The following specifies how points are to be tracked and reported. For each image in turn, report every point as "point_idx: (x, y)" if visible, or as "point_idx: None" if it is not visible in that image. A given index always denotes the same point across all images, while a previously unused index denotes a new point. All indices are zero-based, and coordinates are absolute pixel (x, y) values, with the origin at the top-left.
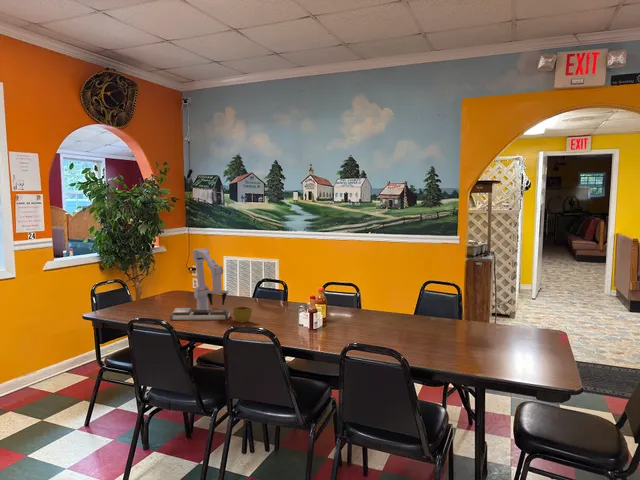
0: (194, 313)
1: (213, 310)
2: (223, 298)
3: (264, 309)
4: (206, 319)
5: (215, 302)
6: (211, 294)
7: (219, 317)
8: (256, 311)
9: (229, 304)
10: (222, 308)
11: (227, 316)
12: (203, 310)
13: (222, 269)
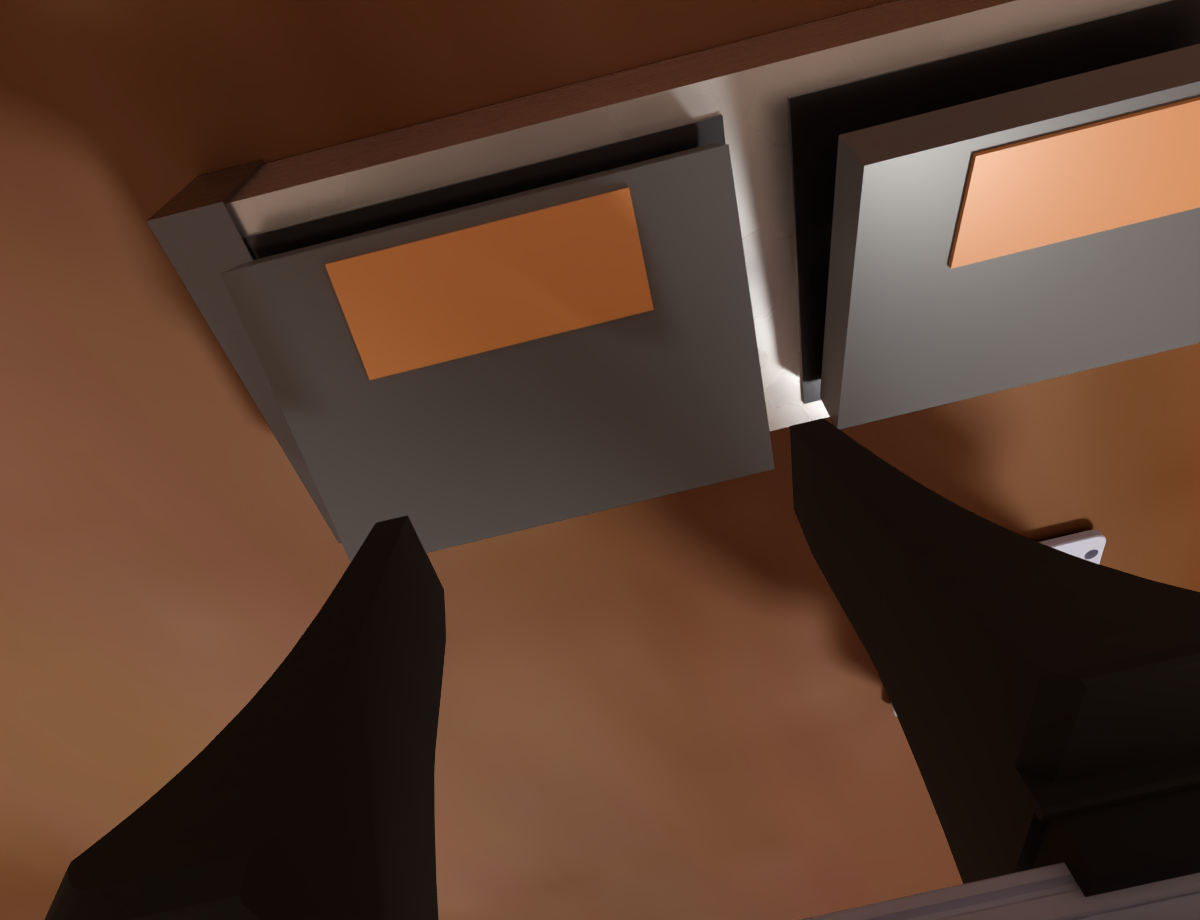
0: None
1: (667, 303)
2: (269, 719)
3: None
4: (768, 34)
5: None
6: (1016, 835)
7: (411, 136)
8: (112, 795)
9: (698, 904)
10: (459, 491)
11: (174, 201)
12: (985, 125)
13: None
